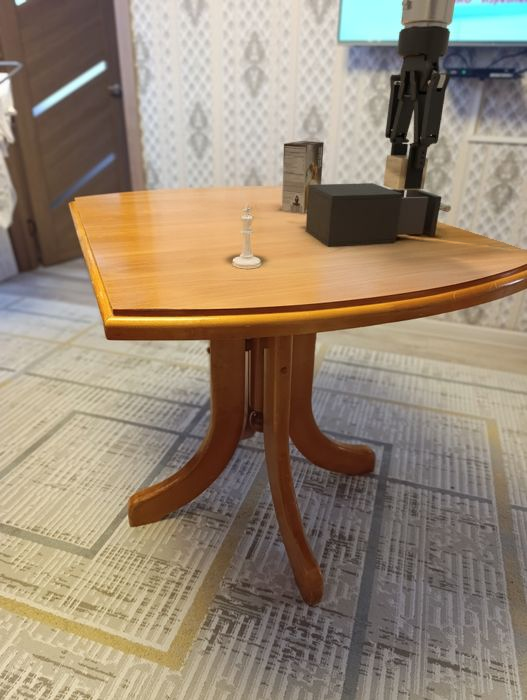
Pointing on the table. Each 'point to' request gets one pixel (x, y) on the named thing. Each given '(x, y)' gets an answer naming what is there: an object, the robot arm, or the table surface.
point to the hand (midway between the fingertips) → (403, 185)
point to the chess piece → (246, 244)
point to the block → (399, 172)
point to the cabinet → (353, 214)
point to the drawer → (419, 212)
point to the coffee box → (300, 173)
